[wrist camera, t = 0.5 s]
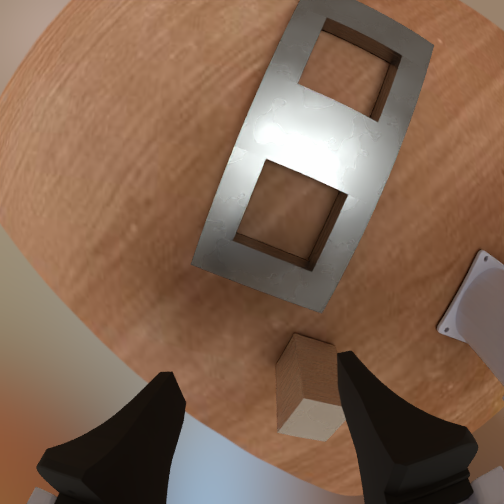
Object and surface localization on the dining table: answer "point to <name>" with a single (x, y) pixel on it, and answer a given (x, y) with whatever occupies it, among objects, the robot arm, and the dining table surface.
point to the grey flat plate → (315, 152)
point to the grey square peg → (308, 390)
